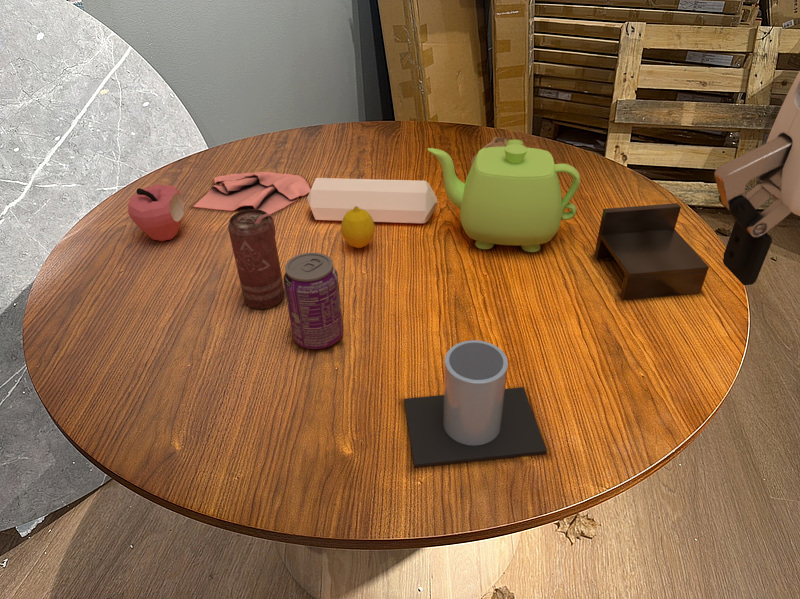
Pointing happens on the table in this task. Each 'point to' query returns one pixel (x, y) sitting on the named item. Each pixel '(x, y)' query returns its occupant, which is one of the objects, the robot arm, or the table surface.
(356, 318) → the table surface
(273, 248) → the can
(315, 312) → the beverage can
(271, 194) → the cloth
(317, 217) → the crystal
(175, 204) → the apple
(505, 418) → the mat
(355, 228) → the fruit
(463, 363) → the blue cup
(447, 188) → the teapot
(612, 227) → the shelf
